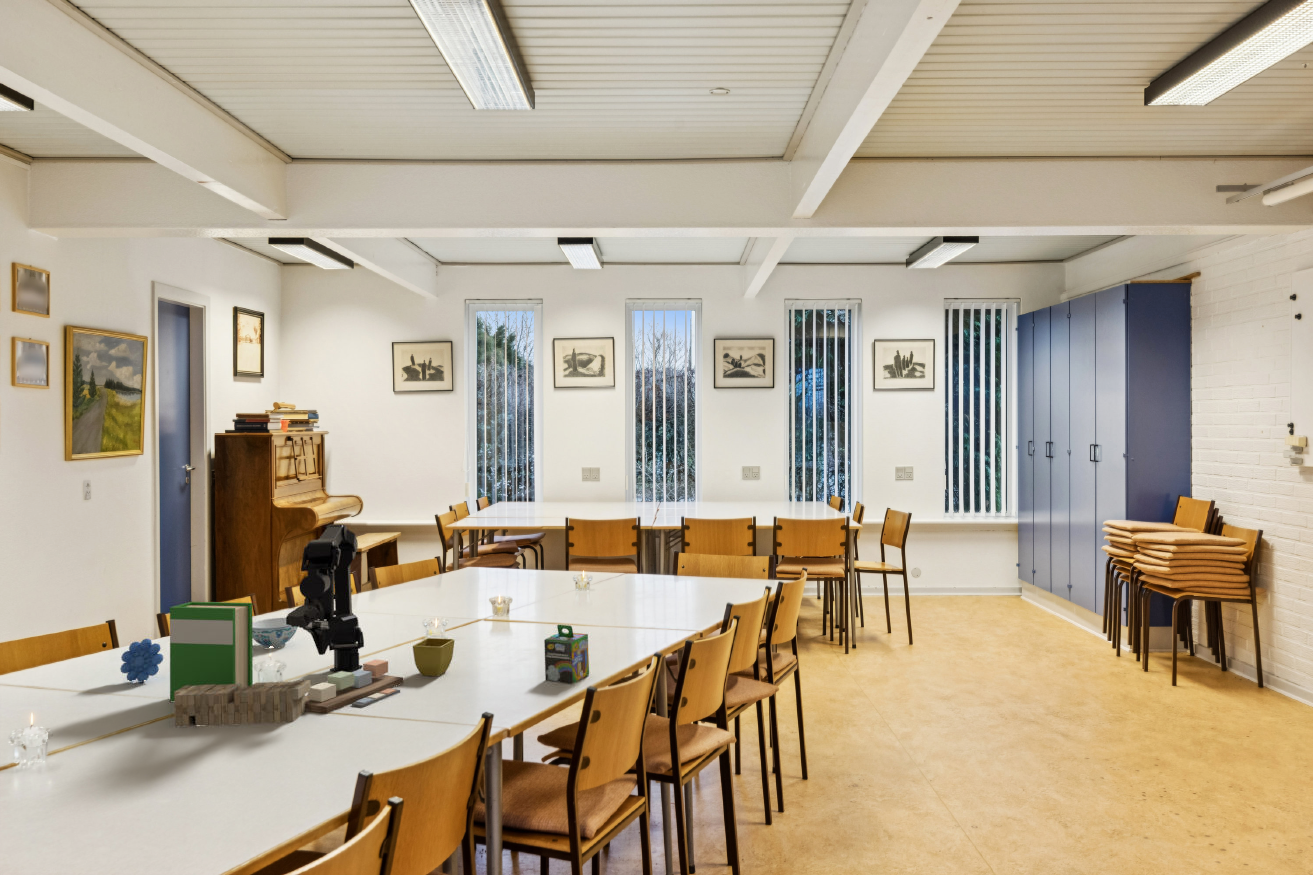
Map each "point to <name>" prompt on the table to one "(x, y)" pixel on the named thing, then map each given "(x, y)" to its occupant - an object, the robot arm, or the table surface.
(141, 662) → the blue flower ornament
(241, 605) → the hardback book
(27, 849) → the table surface
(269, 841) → the table surface
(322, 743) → the table surface
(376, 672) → the key terracotta
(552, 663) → the chalk box
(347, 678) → the key sage
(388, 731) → the table surface
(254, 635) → the chinaware
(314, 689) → the key cream
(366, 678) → the key slate
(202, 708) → the block tower
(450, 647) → the flower pot
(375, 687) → the brown wooden board
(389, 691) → the strip
